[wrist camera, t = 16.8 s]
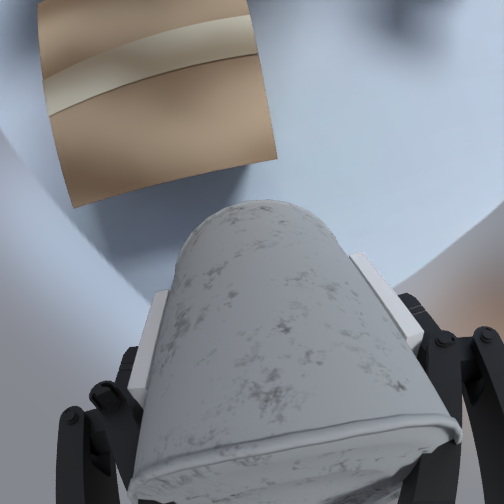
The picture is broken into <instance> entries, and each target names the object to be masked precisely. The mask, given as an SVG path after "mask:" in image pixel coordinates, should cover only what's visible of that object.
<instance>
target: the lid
mask: <svg viewBox="0 0 504 504" xmlns="http://www.w3.org/2000/svg"><path fill="white" fill-rule="evenodd" d="M37 16H38V36H39V49H40V59H41V67H42V75H43V88H44V94H45V100H46V106H47V112H48V116H49V117H50V122H51V127H52V132H53V136H54V141H55V145H56V149H57V153H58V157H59V161H60V165H61V169H62V172H63V176H64V179H65V183H66V186H67V190H68V193H69V196H70V199H71V202H72V206H73V209H74V208H77V207H80V206H83V205H87V204H90V203H93V202H96V201H100V200H103V199H106V198H110V197H113V196H117V195H120V194H124V193H127V192H131V191H134V190H138V189H142V188H146V187H149V186H153V185H157V184H161V183H165V182H169V181H173V180H177V179H182V178H186V177H190V176H194V175H199V174H203V173H208V172H213V171H217V170H222V169H227V168H232V167H237V166H242V165H247V164H252V163H258V162H263V161H269V160H275V159H277V153H276V147H275V141H274V135H273V129H272V124H271V118H270V113H269V107H268V102H267V96H266V91H265V86H264V81H263V76H262V70H261V65H260V60H259V56H258V49H257V45H256V40H255V35H254V30H253V26H252V21H251V17H250V13H249V9H248V4H247V0H44V1H42V2H40V3H39V4H37Z"/></svg>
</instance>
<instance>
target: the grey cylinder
mask: <svg viewBox="0 0 504 504" xmlns="http://www.w3.org/2000/svg"><path fill="white" fill-rule="evenodd" d="M462 436H463V431H462V429H461V427H460V426H459V424H458V422H457V421H456V419H455V418H453V417H451V416H450V414H449V413H448V411H447V409H446V407H445V406H444V404H443V402H442V400H441V398H440V397H439V395H438V393H437V392H436V390H435V388H434V386H433V385H432V383H431V381H430V380H429V378H428V376H427V375H426V373H425V371H424V370H423V368H422V366H421V365H420V363H419V361H418V360H417V358H416V357H415V355H414V353H413V352H412V350H411V349H410V347H409V345H408V344H407V342H406V341H405V339H404V338H403V336H402V335H401V333H400V331H399V330H398V328H397V327H396V325H395V324H394V322H393V321H392V319H391V318H390V316H389V315H388V313H387V312H386V310H385V309H384V307H383V306H382V304H381V303H380V301H379V300H378V299H377V297H376V296H375V294H374V293H373V291H372V290H371V288H370V287H369V286H368V284H367V283H366V281H365V280H364V278H363V277H362V276H361V274H360V273H359V271H358V270H357V269H356V267H355V266H354V264H353V263H352V262H351V260H350V259H349V258H348V256H347V255H346V253H345V252H344V251H343V249H342V248H341V247H340V245H339V244H338V242H337V240H336V237H335V236H334V235H333V233H332V232H331V231H330V229H329V228H328V227H327V226H326V224H325V223H324V222H323V221H322V220H320V219H319V218H318V217H316V216H315V215H314V214H312V213H311V212H309V211H308V210H306V209H303V208H301V207H298V206H296V205H294V204H291V203H287V202H281V201H275V200H253V201H245V202H241V203H238V204H235V205H231V206H228V207H225V208H223V209H222V210H220V211H218V212H216V213H214V214H213V215H211V216H209V217H207V218H206V219H205V220H204V221H203V222H202V223H201V224H200V225H198V226H197V227H196V228H195V229H194V230H193V231H192V232H191V234H190V235H189V237H188V238H187V240H186V241H185V243H184V244H183V246H182V248H181V251H180V253H179V256H178V259H177V262H176V265H175V276H174V280H173V283H172V287H171V291H170V295H169V299H168V303H167V307H166V311H165V315H164V319H163V323H162V327H161V331H160V336H159V340H158V344H157V349H156V353H155V358H154V362H153V367H152V372H151V376H150V381H149V386H148V391H147V396H146V401H145V407H144V412H143V417H142V423H141V429H140V435H139V441H138V447H137V453H136V460H135V466H134V474H133V478H131V480H130V483H129V487H128V491H127V495H128V497H129V499H130V501H131V502H132V504H138V499H146V500H155V501H158V502H160V503H163V504H165V503H168V502H172V501H174V502H175V503H176V504H386V503H388V502H390V501H392V500H394V499H396V498H398V497H399V496H400V492H401V487H402V483H403V480H404V479H405V478H406V477H407V476H408V475H409V474H410V472H411V471H412V469H413V468H414V466H415V465H416V463H417V462H418V460H419V458H420V456H421V455H422V453H432V452H433V451H434V450H435V449H436V448H437V447H438V446H440V445H442V444H444V443H446V442H448V441H450V440H452V439H454V440H455V442H456V444H459V443H461V440H462Z"/></svg>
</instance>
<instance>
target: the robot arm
mask: <svg viewBox="0 0 504 504" xmlns="http://www.w3.org/2000/svg"><path fill="white" fill-rule="evenodd" d="M349 259H350V260H351V262H352V263H353V264H354V266H355V267H356V269H357V270H358V271H359V273H360V274H361V276H362V277H363V278H364V280H365V281H366V283H367V284H368V286H369V287H370V288H371V290H372V291H373V293H374V294H375V296H376V297H377V299H378V300H379V301H380V303H381V304H382V306H383V307H384V309H385V310H386V312H387V313H388V315H389V316H390V318H391V319H392V321H393V322H394V324H395V325H396V327H397V328H398V330H399V331H400V333H401V335H402V336H403V338H404V339H405V341H406V342H407V344H408V345H409V347H410V349H411V350H412V352H413V353H414V355H415V357H416V358H417V360H418V361H419V363H420V365H421V366H422V368H423V370H424V371H425V373H426V375H427V376H428V378H429V380H430V381H431V383H432V385H433V386H434V388H435V390H436V392H437V393H438V395H439V397H440V398H441V400H442V402H443V404H444V406H445V407H446V409H447V411H448V413H449V414H450V416H451V417H453V418H455V419H456V421H457V422H458V424H459V426H460V427H461V429H462V395H463V398H464V402H465V405H466V408H467V412H468V416H469V420H470V424H471V428H472V432H473V437H474V441H475V446H476V450H477V455H478V460H479V466H480V472H481V478H482V484H483V492H484V500H485V504H504V344H503V342H502V340H501V338H500V336H499V334H498V333H497V332H496V331H495V330H494V329H492V328H490V327H487V326H486V327H483V326H482V327H479V328H477V329H476V330H475V331H474V334H473V336H472V337H461V338H457V337H456V336H455V335H454V334H453V333H451V332H449V331H444V330H441V329H440V328H439V326H438V325H437V324H436V323H435V321H434V320H433V319H432V317H431V316H430V315H429V314H428V313H427V312H426V311H425V309H424V308H423V306H421V304H420V303H419V301H418V300H417V299H416V298H415V297H413V296H412V295H410V294H408V293H404V294H401V295H397V294H396V293H395V292H394V290H393V289H392V288H391V287H390V285H389V284H388V283H387V282H386V280H385V279H384V278H383V277H382V275H381V274H380V273H379V272H378V270H377V269H376V268H375V267H374V265H373V264H372V263H371V262H370V261H369V259H368V258H367V257H366V256H365V254H364V253H363V252H359V253H354V254H349ZM169 295H170V292H169V290H163V291H158V292H155V295H154V298H153V301H152V304H151V308H150V311H149V314H148V317H147V320H146V324H145V327H144V330H143V334H142V337H141V340H140V344H139V346H136V347H129V349H128V350H127V351H126V352H125V354H124V355H123V358H122V361H121V365H120V367H119V372H118V374H117V377H116V381H115V383H114V382H112V381H103V382H100V383H98V384H96V385H95V386H94V387H93V388H92V389H91V392H90V394H89V399H90V401H91V402H92V403H93V404H94V405H95V407H96V409H93V410H90V411H86V412H84V411H83V410H82V409H81V408H80V407H78V406H72V407H69V408H67V409H66V410H65V411H64V412H63V413H62V415H61V417H60V421H59V432H58V443H57V460H56V504H120V500H119V493H118V484H117V474H116V465H117V468H118V470H119V473H120V476H121V478H122V480H123V483H124V486H125V488H126V490H127V491H128V487H129V483H130V480H131V478H133V474H134V466H135V460H136V453H137V447H138V441H139V435H140V429H141V423H142V417H143V412H144V407H145V401H146V396H147V391H148V386H149V381H150V376H151V372H152V367H153V362H154V358H155V353H156V349H157V344H158V340H159V336H160V331H161V327H162V323H163V319H164V315H165V311H166V307H167V303H168V299H169ZM460 456H461V443H459V444H456V442H455V440H454V439H452V440H450V441H448V442H446V443H444V444H442V445H440V446H438V447H437V448H436V449H435V450H434V451H433V452H432V453H422V455H421V456H420V458H419V460H418V462H417V463H416V465H415V466H414V468H413V469H412V471H411V472H410V474H409V475H408V476H407V477H406V478H405V479H404V480H403V483H402V487H401V492H400V496H399V500H398V504H455V499H456V493H457V485H458V476H459V468H460V467H459V466H460ZM115 462H116V464H115ZM138 504H163V503H160V502H158V501H155V500H146V499H138ZM165 504H176V503H175V502H174V501H172V502H168V503H165Z"/></svg>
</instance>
